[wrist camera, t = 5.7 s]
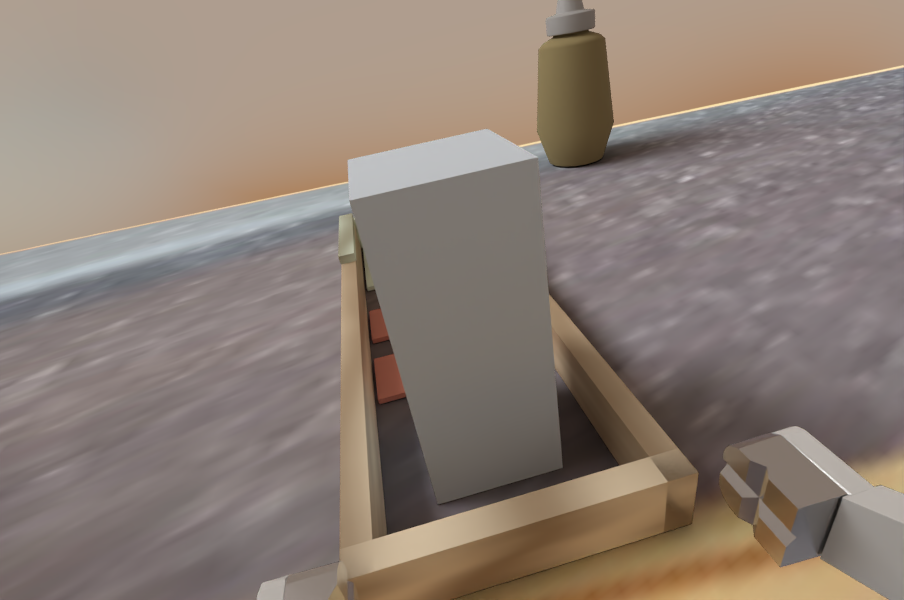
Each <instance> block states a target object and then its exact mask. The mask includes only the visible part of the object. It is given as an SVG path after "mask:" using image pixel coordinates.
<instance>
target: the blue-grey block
mask: <svg viewBox="0 0 904 600" xmlns="http://www.w3.org/2000/svg"><path fill="white" fill-rule="evenodd" d="M348 180H349V201H350V205H351V208H352V212H353V215H354V218H355V222H356V225H357V229H358V232H359V236H360V239H361V242H362V246H363V249H364V253H365V256H366V260H367V263H368V267H369V270H370V273H371V277H372V280H373V284H374V287H375V291H376V294H377V297H378V301H379V304H380V308H381V311H382V315H383V318H384V321H385V325H386V328H387V332H388V335H389V339H390V342H391V346H392V349H393V352H394V356H395V359H396V363H397V366H398V370H399V373H400V376H401V380H402V383H403V387H404V390H405V394H406V397H407V400H408V404H409V407H410V411H411V414H412V418H413V421H414V425H415V428H416V431H417V435H418V438H419V442H420V445H421V449H422V452H423V455H424V459H425V462H426V466H427V469H428V473H429V476H430V479H431V483H432V486H433V490H434V493H435V497H436V500H437V504H438V505H439V504H442V503H445V502H449V501H452V500H455V499H459V498H462V497H466V496H469V495H472V494H476V493H479V492H483V491H486V490H489V489H493V488H496V487H499V486H503V485H506V484H510V483H513V482H516V481H520V480H523V479H527V478H530V477H533V476H537V475H540V474H543V473H547V472H550V471H554V470H557V469H560V468H563V464H562V451H561V439H560V426H559V414H558V401H557V389H556V377H555V364H554V352H553V339H552V327H551V314H550V302H549V290H548V277H547V265H546V252H545V240H544V227H543V215H542V203H541V190H540V178H539V165H538V157H537V156H535V155H533V154H531V153H530V152H528V151H526V150H524V149H522V148H521V147H519V146H517V145H515V144H513V143H512V142H510V141H508V140H506V139H505V138H503V137H501V136H499V135H497V134H495V133H494V132H492V131H490V130H489V129H485V130H480V131H475V132H471V133H466V134H462V135H457V136H453V137H448V138H444V139H440V140H435V141H430V142H426V143H421V144H417V145H412V146H408V147H403V148H399V149H395V150H390V151H385V152H381V153H376V154H372V155H367V156H363V157H358V158H354V159H350V160H348Z"/></svg>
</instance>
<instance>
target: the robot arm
mask: <svg viewBox="0 0 904 600" xmlns="http://www.w3.org/2000/svg"><path fill="white" fill-rule="evenodd" d="M723 459H724V460H725V461H726V462H727V463H728V464H727V465H726V466H725V467H724V469H723V470H722V471H721V472H720V479H719V485H720V488H721V492H722V495H723V497H724V499H725V501H726V502H727V504H728V506H729V507H730V508H731V510H732V511H733V512H734V513H735V514H736V516H737V517H738V518H740V519H742V520H744V521H746V522H748V523H750V524H752V525H753V531H754V537H755V538H756V540H757V541H758V542H759V543H760V544H761V546H762V547H763V548H764V549H765V550H766V551H767V553H768V554H769V555H770V556H771V557H772V559H773V560H774V561H775V562H776V563H777V564H778V566H779V567H783V566H787V565H790V564H794V563H797V562H800V561H804V560H807V559H811V558H814V557H818V556H821V557H820V559H822V560H823V561H825V562H827V563H828V564H830V565H832V566H833V567H835V568H837V569H839V570H840V571H842V572H844V573H845V574H847V575H849V576H850V577H852V578H854V579H855V580H857V581H859V582H860V583H862V584H864V585H865V586H867V587H869V588H870V589H872V590H874V591H875V592H877V593H879V594H880V595H882V596H884V597H885V598H887V599H889V600H904V494H903V493H900V492H898V491H895V490H893V489H890V488H887V487H885V486H882V485H879V486H875V487H874V486H872V485H871V484H870V483H869V482H868V481H866V480H865V479H864V478H863V477H862V476H860V475H859V474H858V473H857V472H855V471H854V470H853V469H852V468H851V467H849V466H848V465H847V464H846V463H845V462H843V461H842V460H841V459H840V458H838V457H837V456H836V455H835V454H834V453H832V452H831V451H830V450H829V449H828V448H826V447H825V446H824V445H823V444H821V443H820V442H819V441H818V440H817V439H815V438H814V437H813V436H812V435H810V434H809V433H808V432H807V431H806V430H804V429H802V428H800V427H797V426H793V427H788V428H785V429H782V430H779V431H775V432H772V433H767V434H763V435H760V436H757V437H754V438H751V439H748V440H744V441H741V442H738V443H735V444H732V445H729V446H728V447H727V448H726V449H724V454H723ZM256 600H360V599H359V596H358V592H357V589H356V587H355V585H354V583H353V582H350V581H348V580H347V569H346V567H345V565H344V563H343V561H342V560H341V561H338V562H334V563H331V564H327V565H324V566H320V567H317V568H313V569H310V570H306V571H303V572H299V573H296V574H292V575H287V576H284V577H281V578H277V579H274V580H271V581H267V582H264V583H262V584H261V587H260V589H259V591H258V594H257V599H256Z"/></svg>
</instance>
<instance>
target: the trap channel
mask: <svg viewBox="0 0 904 600" xmlns="http://www.w3.org/2000/svg"><path fill="white" fill-rule="evenodd" d="M361 248H363V246H362V242H361V239H360V236H359V232H358V229H357V225H356V222H355V218H353V215H352V213H351V214H347V215H343V216H339V251H338V257H339V260H340V263H341V264H342V278H341V421H340V561H341V560H342V561H343V563H344V565H345V567H346V569H347V580H348V581H350V582H353V583H354V585H355V587H356V589H357V592H358V596H359V599H360V600H451V599H454V598H457V597H461V596H464V595H467V594H470V593H473V592H477V591H480V590H483V589H486V588H489V587H492V586H496V585H499V584H502V583H505V582H508V581H511V580H515V579H518V578H521V577H524V576H527V575H530V574H534V573H537V572H540V571H543V570H546V569H549V568H553V567H556V566H559V565H562V564H565V563H568V562H572V561H575V560H578V559H581V558H584V557H587V556H591V555H594V554H597V553H600V552H603V551H607V550H610V549H613V548H616V547H619V546H622V545H626V544H629V543H632V542H635V541H638V540H641V539H645V538H648V537H651V536H654V535H657V534H660V533H664V532H667V531H670V530H673V529H676V528H679V527H683V526H686V525H689V524H692V519H693V511H694V504H695V496H696V488H697V481H698V473H699V472H698V471H697V470H696V469H695V468H694V466H693V465H692V464H691V463H690V462H689V460H688V459H687V458H686V457H685V456H684V454H683V453H682V452H681V451H680V450H679V449H678V447H677V446H676V445H675V444H674V443H673V441H672V440H671V439H670V438H669V437H668V435H667V434H666V433H665V432H664V431H663V429H662V428H661V427H660V426H659V425H658V423H657V422H656V421H655V420H654V419H653V417H652V416H651V415H650V414H649V413H648V411H647V410H646V409H645V408H644V407H643V406H642V404H641V403H640V402H639V401H638V400H637V398H636V397H635V396H634V395H633V394H632V392H631V391H630V390H629V389H628V388H627V386H626V385H625V384H624V383H623V382H622V380H621V379H620V378H619V377H618V376H617V374H616V373H615V372H614V371H613V370H612V368H611V367H610V366H609V365H608V364H607V363H606V361H605V360H604V359H603V358H602V357H601V355H600V354H599V353H598V352H597V351H596V349H595V348H594V347H593V346H592V345H591V343H590V342H589V341H588V340H587V339H586V337H585V336H584V335H583V334H582V333H581V331H580V330H579V329H578V328H577V327H576V325H575V324H574V323H573V322H572V321H571V320H570V318H569V317H568V316H567V315H566V314H565V312H564V311H563V310H562V309H561V308H560V306H559V305H558V304H557V303H556V302H555V300H554V299H553V298H552V297H551V296H550V294H549V302H550V314H551V327H552V339H553V352H554V364H555V369H556V370H557V372H558V373H559V375H560V376H561V378H562V379H563V381H564V382H565V384H566V385H567V387H568V389H569V390H570V392H571V393H572V395H573V396H574V398H575V399H576V401H577V402H578V404H579V405H580V407H581V408H582V410H583V411H584V413H585V414H586V416H587V417H588V419H589V420H590V422H591V423H592V425H593V426H594V428H595V429H596V431H597V432H598V434H599V435H600V437H601V438H602V440H603V441H604V443H605V444H606V446H607V447H608V449H609V450H610V452H611V453H612V455H613V457H614V458H615V460H616V461H617V463H618V464H619V466H617V467H614V468H610V469H607V470H604V471H600V472H597V473H594V474H590V475H587V476H584V477H580V478H577V479H574V480H570V481H567V482H563V483H560V484H557V485H553V486H550V487H547V488H543V489H540V490H537V491H533V492H530V493H527V494H523V495H520V496H517V497H513V498H510V499H507V500H503V501H500V502H496V503H493V504H490V505H486V506H483V507H480V508H476V509H473V510H470V511H466V512H463V513H460V514H456V515H453V516H450V517H446V518H443V519H440V520H436V521H433V522H430V523H426V524H423V525H419V526H416V527H413V528H409V529H406V530H403V531H399V532H396V533H393V534H389V535H387V527H386V516H385V505H384V494H383V483H382V472H381V461H380V450H379V439H378V428H377V417H376V405H375V394H374V383H373V372H372V361H371V350H370V339H369V328H368V317H367V306H366V295H365V284H364V273H363V262H362V251H361ZM363 254H364V264H365V274H366V284H367V290H368V291H371V290H375V287H374V284H373V280H372V277H371V273H370V270H369V267H368V263H367V260H366V256H365V253H364V249H363ZM369 314H370V325H371V335H372V341H373V344H374V343H378V342H382V341H386V340H390V339H389V335H388V332H387V328H386V325H385V321H384V318H383V315H382V311H381V308H379V309H375V310H371V311H369ZM374 365H375V375H376V385H377V395H378V401H379V404H382V403H386V402H390V401H393V400H397V399H401V398H404V397H406V394H405V390H404V387H403V383H402V380H401V376H400V373H399V370H398V366H397V363H396V359H395V356H394V354H391V355H387V356H383V357H380V358H376V359H374Z"/></svg>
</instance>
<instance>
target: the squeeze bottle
mask: <svg viewBox="0 0 904 600" xmlns="http://www.w3.org/2000/svg"><path fill="white" fill-rule="evenodd" d="M594 27H595V10H594V9H584V7H583V3H582V0H558V3H557V10H556V14H555V15H554V16H551V17H549V18H546V29H547V30H546V31H547V36H553V38H552V39H550V40H548V41H547V42H546V43H544V44H543V45H542V46H541V47H540V49H539V50H538V107H537V108H538V110H537V111H538V112H537V132H538V135H539V137H540V140H541V143H542V145H543V147H544V150H545V152H546V155H547V157H548V160H549V162H550V163H551V164H553V165H556V166H579V165H585V164H589V163H592V162H596V161H598V160H599V159H601V158H602V157H603V155H604V152H605V148H606V145H607V142H608V139H609V135H610V132H611V129H612V126H613V123H614V119H613V110H612V101H611V90H610V82H609V71H608V61H607V52H606V42H605V38H604V37H603V36H602V35H601V34H599V33H595V32H591V31H589V29H592V28H594Z"/></svg>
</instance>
